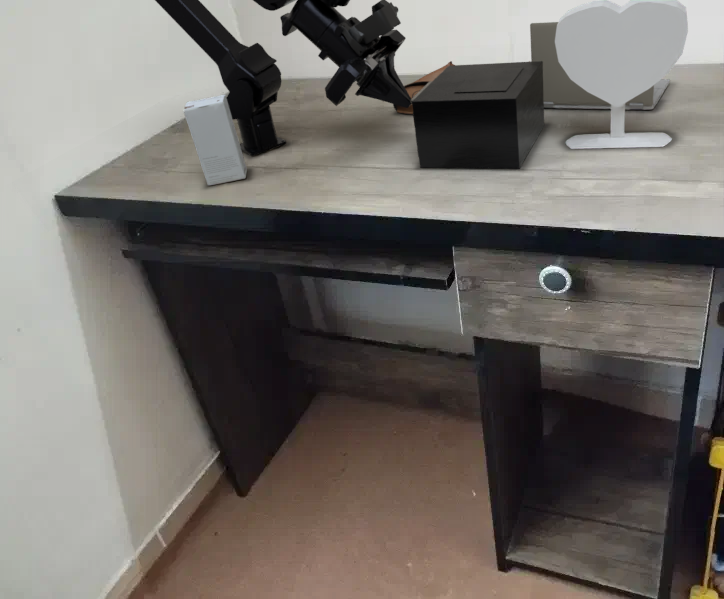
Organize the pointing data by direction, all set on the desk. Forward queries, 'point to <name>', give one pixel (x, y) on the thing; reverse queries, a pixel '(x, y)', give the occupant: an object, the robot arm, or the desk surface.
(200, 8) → the robot arm
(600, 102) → the laptop
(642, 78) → the heart sculpture
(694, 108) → the desk surface
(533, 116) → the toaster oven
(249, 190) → the desk surface
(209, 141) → the cosmetic box
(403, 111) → the sunglasses case
